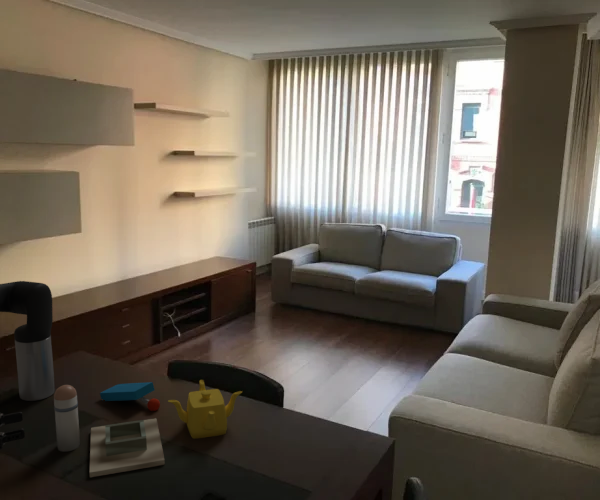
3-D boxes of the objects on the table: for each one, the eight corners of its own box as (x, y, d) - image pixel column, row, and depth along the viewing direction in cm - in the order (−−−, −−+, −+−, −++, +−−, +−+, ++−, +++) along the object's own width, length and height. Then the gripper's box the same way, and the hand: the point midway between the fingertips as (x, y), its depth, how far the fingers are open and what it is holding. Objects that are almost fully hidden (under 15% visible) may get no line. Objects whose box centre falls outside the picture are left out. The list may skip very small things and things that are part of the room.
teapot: (212, 447, 132) (212, 410, 130) (166, 433, 138) (165, 397, 136) (244, 421, 145) (244, 387, 143) (201, 408, 151) (200, 376, 149)
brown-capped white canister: (57, 442, 133) (53, 382, 130) (80, 438, 135) (77, 379, 132) (56, 453, 128) (51, 392, 125) (80, 449, 130) (76, 389, 127)
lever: (105, 416, 155) (150, 415, 146) (99, 393, 155) (144, 390, 146) (123, 406, 161) (168, 405, 152) (118, 384, 161) (162, 381, 152)
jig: (91, 432, 138) (90, 416, 137) (156, 422, 143) (156, 407, 142) (89, 477, 119) (88, 460, 119) (164, 464, 125) (164, 447, 124)
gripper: (-66, 441, 111) (23, 423, 119) (-61, 411, 123) (20, 396, 131) (-62, 475, 112) (26, 454, 120) (-57, 442, 124) (22, 425, 132)
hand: (23, 424), depth 125 cm, fingers open, 8 cm apart
